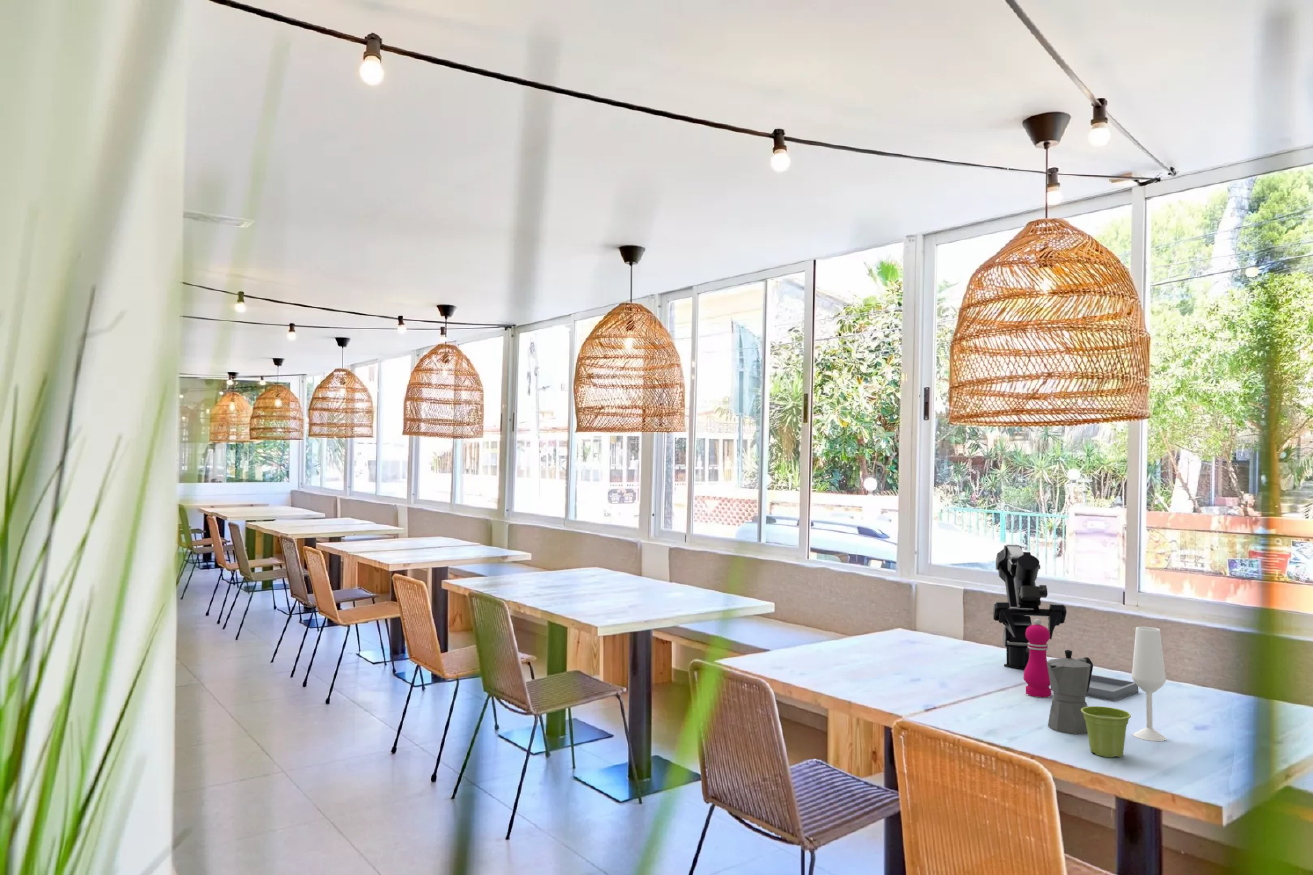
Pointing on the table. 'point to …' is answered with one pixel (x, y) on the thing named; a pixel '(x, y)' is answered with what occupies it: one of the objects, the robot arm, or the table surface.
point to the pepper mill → (1037, 661)
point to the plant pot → (1106, 730)
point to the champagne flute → (1148, 673)
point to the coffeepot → (1069, 693)
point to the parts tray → (1110, 688)
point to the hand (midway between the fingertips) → (1032, 637)
